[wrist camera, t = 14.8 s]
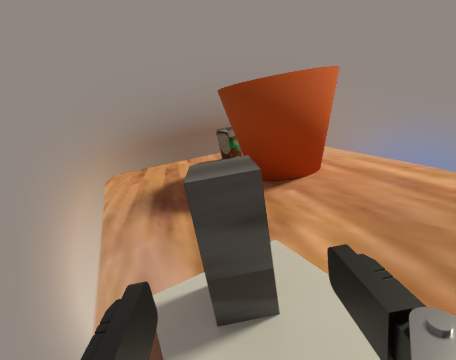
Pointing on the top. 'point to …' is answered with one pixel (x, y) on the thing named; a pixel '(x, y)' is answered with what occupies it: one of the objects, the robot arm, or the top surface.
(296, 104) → the flowerpot
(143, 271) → the top surface
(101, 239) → the top surface
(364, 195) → the top surface
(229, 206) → the charcoal link
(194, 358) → the plate
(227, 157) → the food container
